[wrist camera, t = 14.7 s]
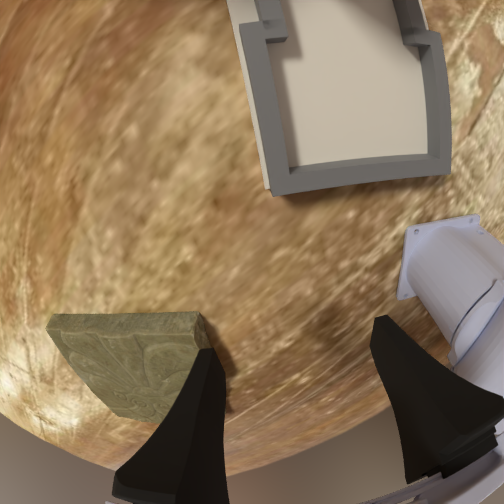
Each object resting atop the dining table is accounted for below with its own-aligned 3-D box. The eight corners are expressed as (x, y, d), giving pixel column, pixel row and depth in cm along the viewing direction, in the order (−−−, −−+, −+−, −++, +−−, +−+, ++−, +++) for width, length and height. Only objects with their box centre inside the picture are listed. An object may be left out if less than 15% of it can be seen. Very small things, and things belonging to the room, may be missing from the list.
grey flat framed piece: (385, -70, 6) (398, -80, 4) (435, 165, 18) (453, 174, 15) (206, -77, 7) (203, -93, 5) (264, 185, 18) (267, 197, 16)
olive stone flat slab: (120, 402, 35) (115, 420, 32) (52, 310, 25) (39, 331, 22) (236, 406, 35) (237, 427, 32) (206, 304, 24) (202, 333, 21)
